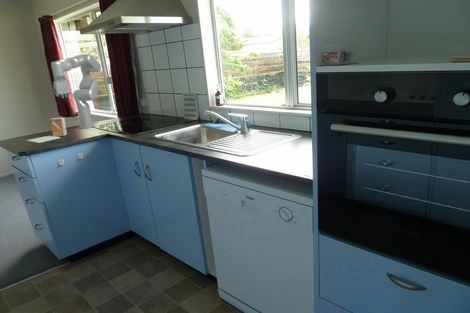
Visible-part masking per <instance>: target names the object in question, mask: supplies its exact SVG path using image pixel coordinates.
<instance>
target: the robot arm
mask: <svg viewBox="0 0 470 313" xmlns="http://www.w3.org/2000/svg"><path fill="white" fill-rule="evenodd" d="M50 66H51V70H52V74H53V80H54V81H53V83H52V84H53V92H54V94H55V96H56V97H59V98H60V99H61V103H62V104H64V105H65V104H68V99H67V98H68V96H70V95H71V89H70V85H69V82H68V80H67V78H68V77H67V76H66V75H65V72H70V71H71V70H73V69H77V68H79V67H80V71H81V74H82V79H81V81H80V83H79V86H78V88H79V89H75V91H73V94H72V96H73V99H74V101H75V105H76V109H77V113H78V117H79V119H78V120H79V123H80V126H79V127H78V128H79V129H84V130H85V129H92V128H95V127H96V124H98V123H99V121H98V120H96V121H94V120H93V117H92V112H91V107H90V104H89V102H90V101H91V102H92V101H95V99H96V98H97V95H98V93H99V91H100V84H99V81H98V80H96V79H94V78H93V75H91V73H98V72H100V71H101V70H102V66H101V63H100V62H99V61H98V60H97V59H96V58H95V57H94V56H93V55H91V54H89V53H87V54H78V55H75V56H72V57H68V58H64V59H59V60H55V61H51V62H50Z"/></svg>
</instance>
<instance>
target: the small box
mask: <svg viewBox="0 0 470 313" xmlns="http://www.w3.org/2000/svg"><path fill="white" fill-rule="evenodd" d="M50 125H51V131H52V136H56V137H64V136H67V134H68V132H67V126H66V118H65V117H57V118H54V117H53V118H50Z"/></svg>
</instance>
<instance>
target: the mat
mask: <svg viewBox="0 0 470 313" xmlns="http://www.w3.org/2000/svg"><path fill="white" fill-rule="evenodd" d="M61 138H62V136H53V135H44V136H40V137H35V138H32V139H27V140H26V141H27V142H31V143H36V144H41V143H45V142H49V141H52V140H57V139H61Z"/></svg>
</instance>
